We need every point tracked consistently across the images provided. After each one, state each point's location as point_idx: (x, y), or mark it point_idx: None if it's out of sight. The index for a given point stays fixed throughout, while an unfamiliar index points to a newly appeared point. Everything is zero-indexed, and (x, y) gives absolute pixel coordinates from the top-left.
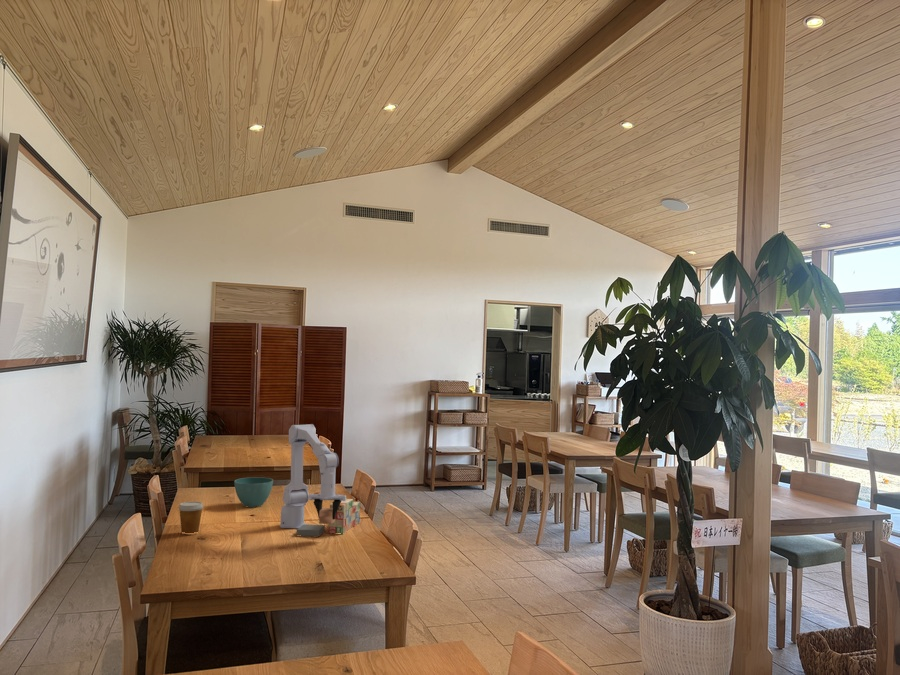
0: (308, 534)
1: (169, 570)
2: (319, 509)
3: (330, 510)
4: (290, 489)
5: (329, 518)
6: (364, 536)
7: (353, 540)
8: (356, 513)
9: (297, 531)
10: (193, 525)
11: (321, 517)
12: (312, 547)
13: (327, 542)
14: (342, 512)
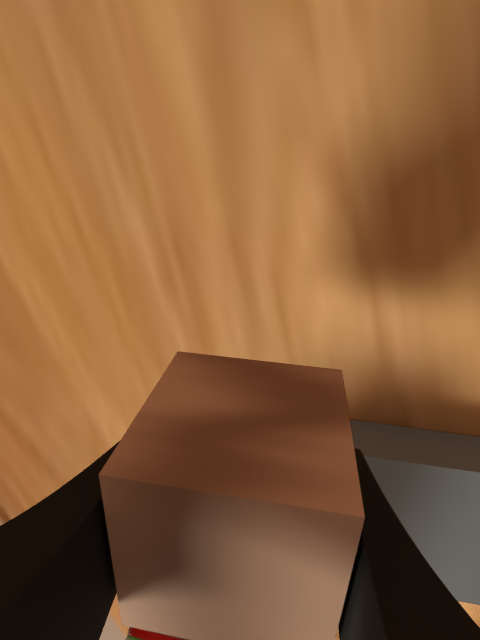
0: (437, 441)
1: None
2: (371, 567)
3: (147, 528)
4: None
5: (185, 395)
6: (45, 424)
7: (74, 332)
8: None
9: None
10: None
11: (311, 417)
12: (359, 66)
13: (248, 266)
14: (138, 637)
